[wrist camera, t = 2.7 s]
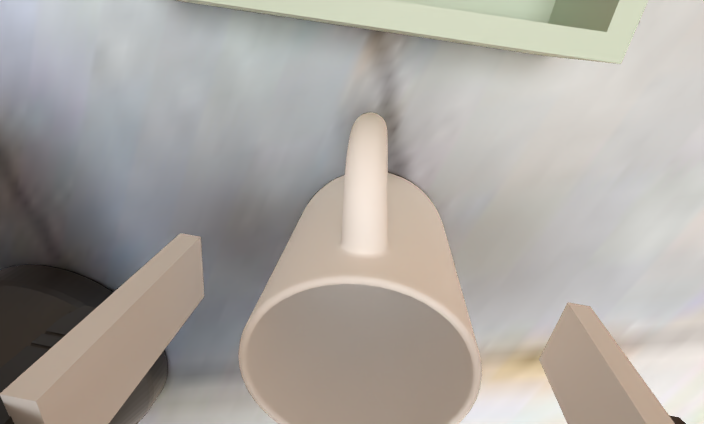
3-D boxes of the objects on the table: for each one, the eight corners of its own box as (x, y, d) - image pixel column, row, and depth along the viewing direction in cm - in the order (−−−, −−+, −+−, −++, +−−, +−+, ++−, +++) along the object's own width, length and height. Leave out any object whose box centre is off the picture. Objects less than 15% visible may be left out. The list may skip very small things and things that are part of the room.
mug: (296, 92, 18) (202, 144, 9) (461, 97, 18) (539, 160, 9) (305, 284, 24) (250, 441, 14) (433, 293, 23) (462, 465, 14)
